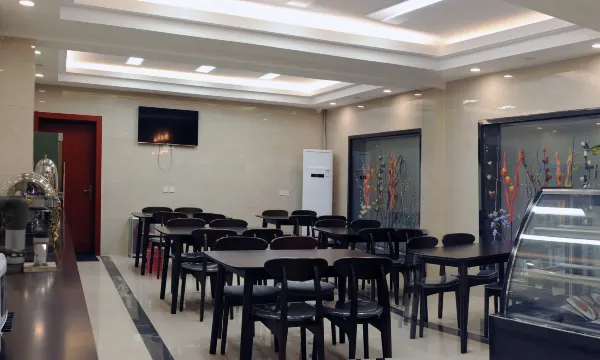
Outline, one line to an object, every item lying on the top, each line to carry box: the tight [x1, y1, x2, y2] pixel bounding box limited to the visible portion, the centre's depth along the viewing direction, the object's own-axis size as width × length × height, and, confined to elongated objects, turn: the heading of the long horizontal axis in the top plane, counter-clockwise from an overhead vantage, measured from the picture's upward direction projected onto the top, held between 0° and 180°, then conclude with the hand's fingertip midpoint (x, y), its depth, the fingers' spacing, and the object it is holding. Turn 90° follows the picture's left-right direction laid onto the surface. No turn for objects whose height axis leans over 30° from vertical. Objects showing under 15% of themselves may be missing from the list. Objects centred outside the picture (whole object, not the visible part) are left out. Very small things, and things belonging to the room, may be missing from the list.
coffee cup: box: [32, 231, 50, 252], centre depth 309 cm, size 8×8×15 cm
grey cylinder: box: [33, 244, 48, 267], centre depth 277 cm, size 6×5×12 cm
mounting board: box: [23, 261, 57, 273], centre depth 279 cm, size 18×14×2 cm
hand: (31, 252), depth 274 cm, fingers open, 8 cm apart
